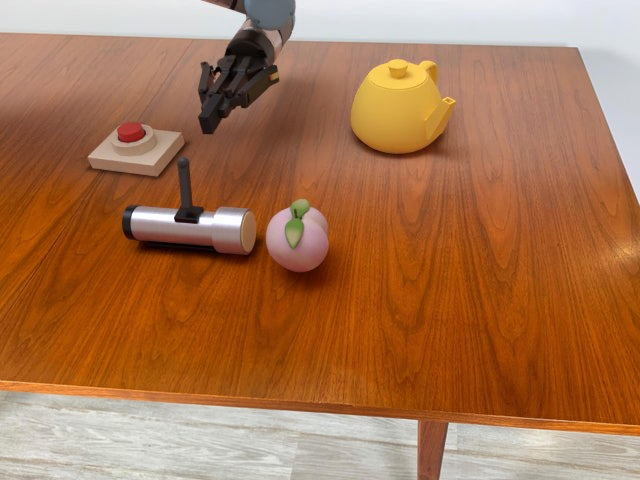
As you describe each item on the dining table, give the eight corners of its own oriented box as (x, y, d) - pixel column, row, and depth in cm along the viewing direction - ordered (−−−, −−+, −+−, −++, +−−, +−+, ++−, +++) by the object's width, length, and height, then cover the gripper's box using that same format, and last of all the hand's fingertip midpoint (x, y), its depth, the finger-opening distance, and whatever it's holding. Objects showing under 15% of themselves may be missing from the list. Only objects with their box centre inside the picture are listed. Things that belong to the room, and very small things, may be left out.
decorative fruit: (273, 245, 83) (261, 189, 76) (330, 240, 84) (323, 184, 76) (271, 293, 77) (257, 236, 69) (333, 287, 77) (326, 231, 70)
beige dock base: (92, 168, 97) (82, 147, 94) (123, 136, 104) (115, 116, 101) (157, 176, 95) (149, 156, 92) (184, 143, 102) (178, 123, 99)
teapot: (332, 133, 103) (325, 64, 94) (404, 94, 112) (404, 27, 103) (416, 179, 93) (418, 107, 84) (487, 132, 103) (496, 62, 93)
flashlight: (129, 254, 82) (113, 219, 78) (148, 225, 87) (133, 190, 82) (247, 264, 81) (237, 229, 76) (260, 234, 85) (252, 199, 80)
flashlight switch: (178, 208, 78) (174, 157, 76) (184, 205, 80) (179, 155, 77) (190, 209, 78) (185, 158, 76) (195, 206, 80) (191, 156, 77)
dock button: (115, 142, 96) (111, 133, 95) (128, 129, 99) (124, 120, 97) (137, 145, 95) (134, 135, 94) (149, 132, 98) (146, 123, 97)
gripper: (294, 74, 100) (254, 151, 84) (221, 70, 101) (169, 146, 85) (288, 30, 94) (244, 103, 78) (211, 27, 96) (153, 98, 80)
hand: (205, 125), depth 82 cm, fingers closed
